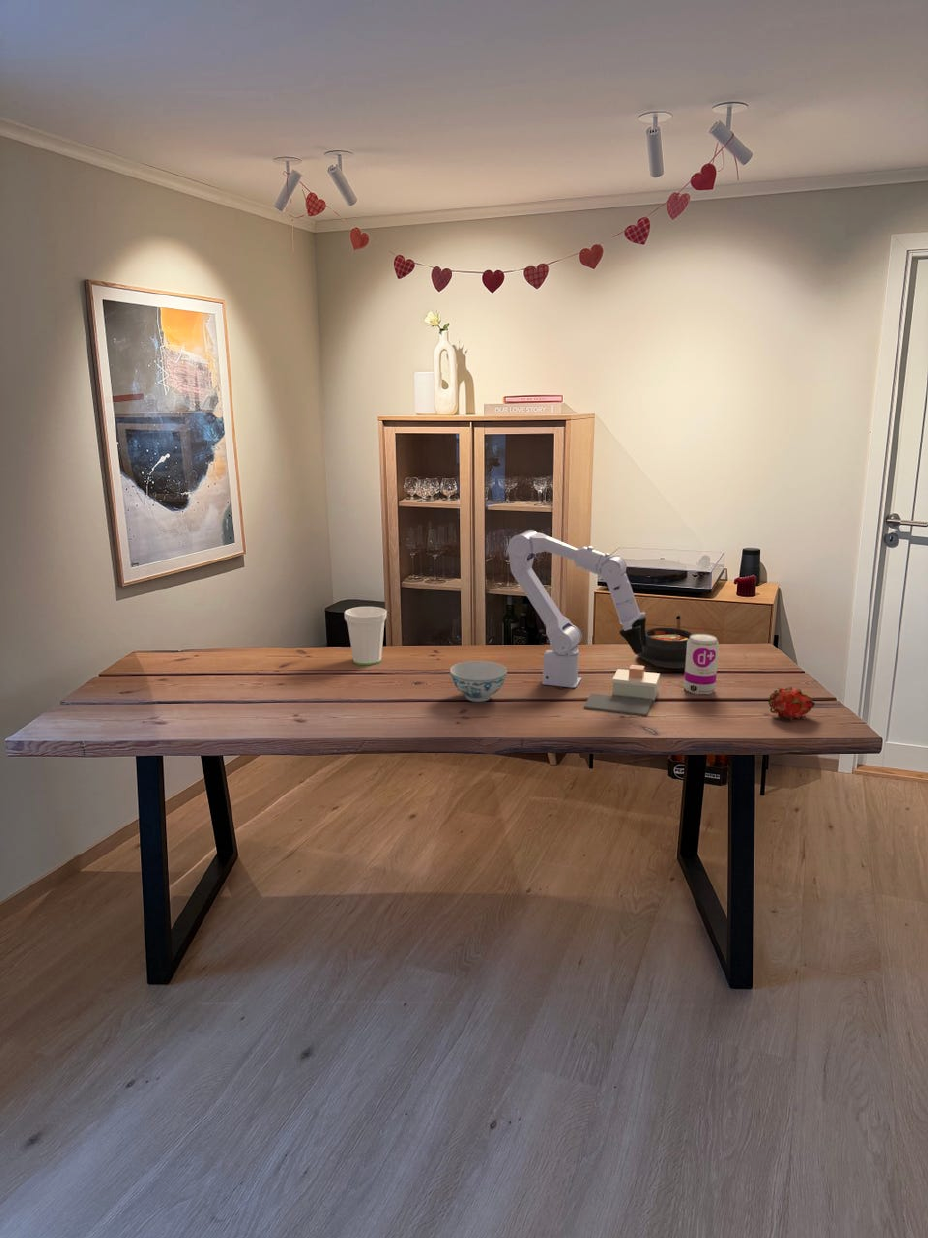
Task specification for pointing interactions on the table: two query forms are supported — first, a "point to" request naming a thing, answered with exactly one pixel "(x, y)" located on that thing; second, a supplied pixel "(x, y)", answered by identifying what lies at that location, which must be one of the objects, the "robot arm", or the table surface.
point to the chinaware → (478, 679)
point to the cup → (366, 633)
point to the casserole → (666, 647)
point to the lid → (636, 676)
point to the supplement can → (701, 664)
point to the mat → (618, 704)
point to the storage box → (635, 691)
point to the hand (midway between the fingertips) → (641, 649)
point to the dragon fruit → (790, 703)
